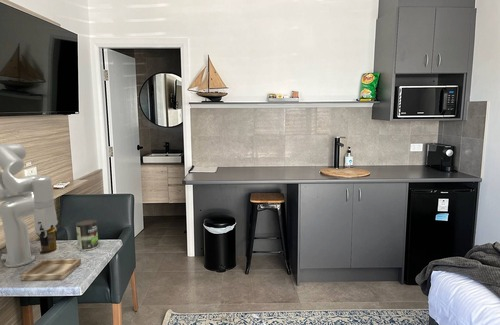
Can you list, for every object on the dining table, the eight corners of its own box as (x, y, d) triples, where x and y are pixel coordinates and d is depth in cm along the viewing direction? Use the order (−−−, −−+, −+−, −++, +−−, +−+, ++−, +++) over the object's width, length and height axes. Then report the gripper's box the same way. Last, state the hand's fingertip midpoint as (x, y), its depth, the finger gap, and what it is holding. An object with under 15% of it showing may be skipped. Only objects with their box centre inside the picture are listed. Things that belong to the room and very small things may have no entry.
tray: (21, 281, 150) (20, 275, 149) (43, 264, 166) (42, 259, 166) (62, 280, 150) (62, 274, 149) (81, 263, 166) (80, 258, 165)
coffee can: (103, 244, 190) (100, 219, 188) (89, 251, 180) (87, 225, 178) (87, 242, 193) (85, 218, 191) (73, 250, 183) (70, 224, 181)
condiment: (57, 246, 161) (54, 221, 159) (58, 252, 154) (55, 226, 152) (39, 249, 157) (36, 224, 155) (39, 256, 150) (36, 229, 148)
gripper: (47, 199, 162) (52, 236, 164) (23, 209, 144) (28, 250, 147) (63, 199, 161) (67, 235, 164) (41, 209, 144) (46, 250, 147)
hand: (49, 242), depth 156 cm, fingers closed on condiment, 6 cm apart
